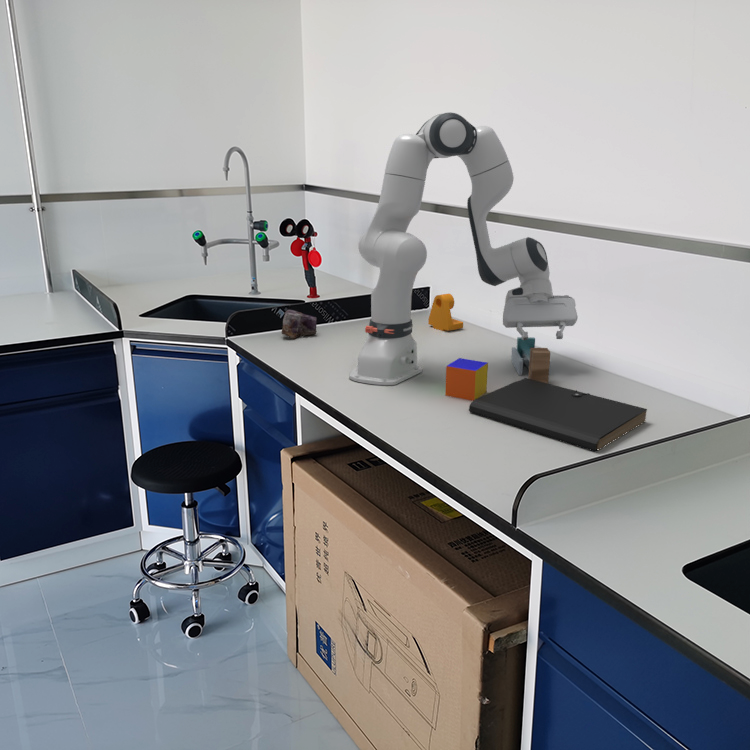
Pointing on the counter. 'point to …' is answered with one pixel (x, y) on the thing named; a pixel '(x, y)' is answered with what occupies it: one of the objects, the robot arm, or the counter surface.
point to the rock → (298, 324)
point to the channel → (518, 361)
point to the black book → (559, 413)
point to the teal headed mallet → (525, 348)
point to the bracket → (443, 314)
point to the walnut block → (539, 364)
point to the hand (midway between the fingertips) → (542, 338)
